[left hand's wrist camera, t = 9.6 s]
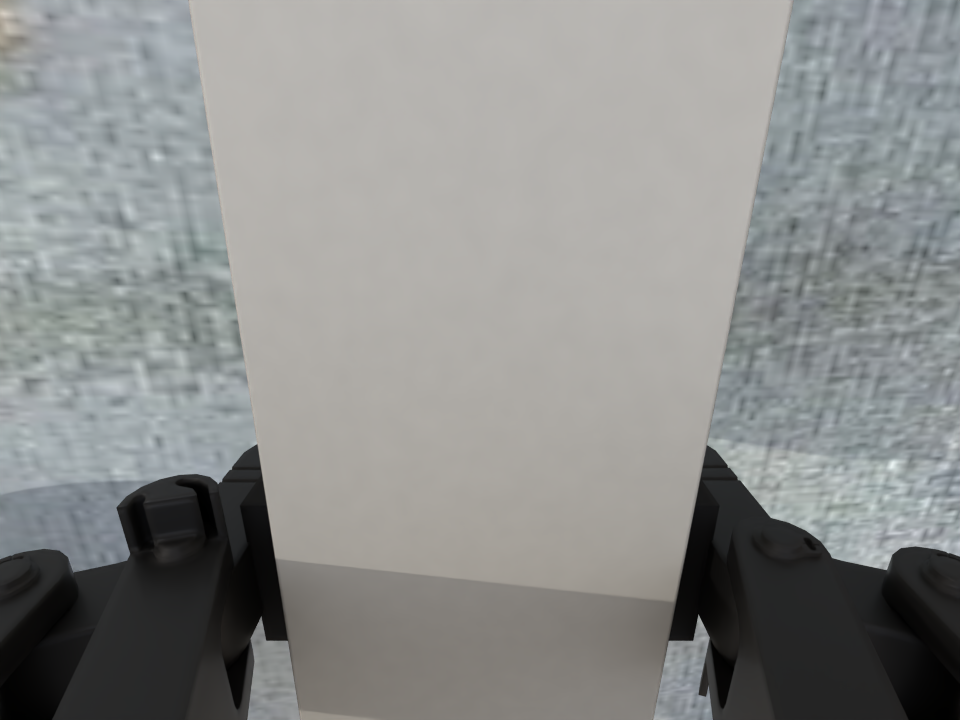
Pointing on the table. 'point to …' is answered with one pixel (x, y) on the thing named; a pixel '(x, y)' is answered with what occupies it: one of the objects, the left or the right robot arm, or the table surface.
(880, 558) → the table surface
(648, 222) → the post
